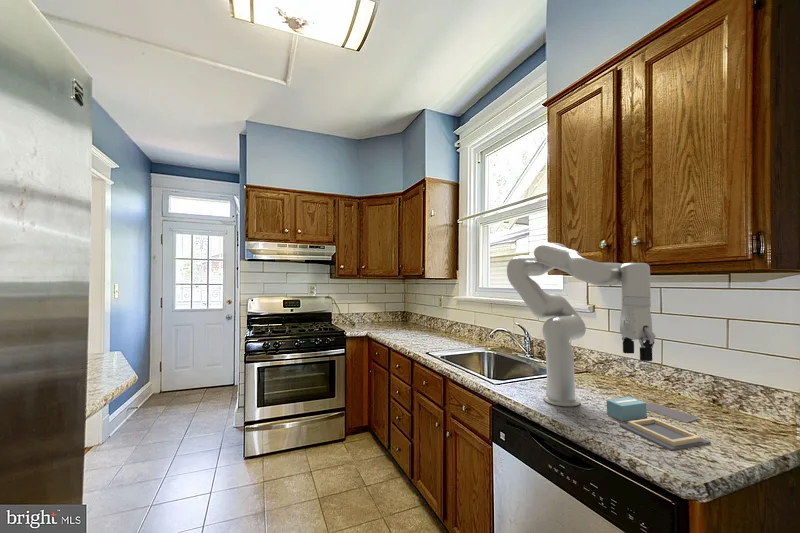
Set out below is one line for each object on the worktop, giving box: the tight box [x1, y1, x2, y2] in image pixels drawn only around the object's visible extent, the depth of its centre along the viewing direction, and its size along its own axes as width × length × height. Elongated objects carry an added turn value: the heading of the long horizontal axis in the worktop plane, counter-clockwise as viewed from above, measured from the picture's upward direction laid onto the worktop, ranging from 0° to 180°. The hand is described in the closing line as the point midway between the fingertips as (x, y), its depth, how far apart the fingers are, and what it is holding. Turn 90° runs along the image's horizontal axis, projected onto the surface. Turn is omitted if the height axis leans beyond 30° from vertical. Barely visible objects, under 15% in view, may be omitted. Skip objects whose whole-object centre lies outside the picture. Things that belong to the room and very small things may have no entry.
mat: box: [619, 417, 712, 452], centre depth 102 cm, size 16×14×2 cm
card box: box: [606, 396, 648, 422], centre depth 116 cm, size 10×6×5 cm, turn 104°
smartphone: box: [645, 402, 699, 424], centre depth 118 cm, size 7×1×15 cm
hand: (636, 356), depth 109 cm, fingers open, 9 cm apart
